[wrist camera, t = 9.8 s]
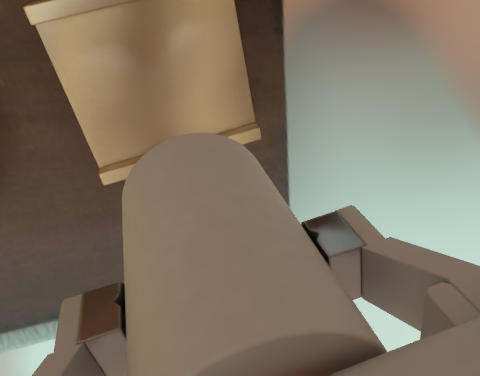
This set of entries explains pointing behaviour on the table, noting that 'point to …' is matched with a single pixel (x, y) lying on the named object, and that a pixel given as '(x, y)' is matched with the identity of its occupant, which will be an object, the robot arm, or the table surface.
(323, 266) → the white bottle
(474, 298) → the robot arm
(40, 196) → the table surface
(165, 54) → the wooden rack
